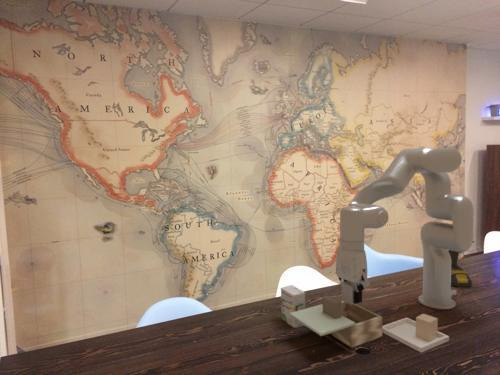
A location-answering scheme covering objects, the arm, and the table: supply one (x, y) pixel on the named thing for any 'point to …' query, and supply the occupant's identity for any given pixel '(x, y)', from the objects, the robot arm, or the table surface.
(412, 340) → the white tray
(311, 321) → the sage lid
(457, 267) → the power drill
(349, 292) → the granite block
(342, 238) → the robot arm
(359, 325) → the birch box
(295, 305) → the ink box
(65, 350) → the table surface
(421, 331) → the sandstone block
